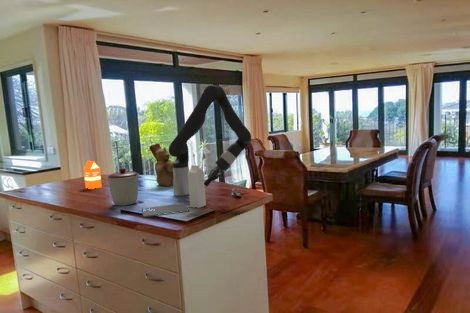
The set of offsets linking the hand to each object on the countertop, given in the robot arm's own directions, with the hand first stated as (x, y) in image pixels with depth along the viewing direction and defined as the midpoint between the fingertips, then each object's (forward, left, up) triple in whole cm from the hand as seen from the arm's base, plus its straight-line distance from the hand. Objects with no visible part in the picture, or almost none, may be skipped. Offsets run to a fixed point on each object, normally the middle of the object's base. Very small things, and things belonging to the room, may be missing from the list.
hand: (205, 185), depth 189 cm
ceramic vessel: (-57, +51, -11) cm, 77 cm away
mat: (-18, -13, -11) cm, 25 cm away
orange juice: (-108, +35, -11) cm, 114 cm away
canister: (-50, -4, -11) cm, 51 cm away
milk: (-4, -3, -11) cm, 12 cm away
